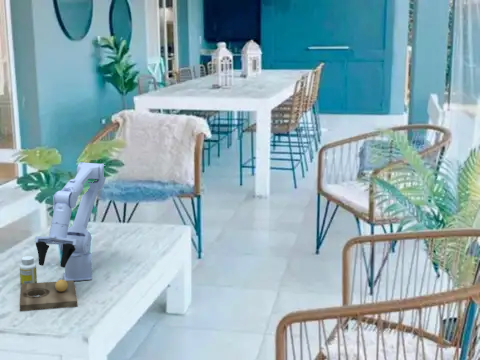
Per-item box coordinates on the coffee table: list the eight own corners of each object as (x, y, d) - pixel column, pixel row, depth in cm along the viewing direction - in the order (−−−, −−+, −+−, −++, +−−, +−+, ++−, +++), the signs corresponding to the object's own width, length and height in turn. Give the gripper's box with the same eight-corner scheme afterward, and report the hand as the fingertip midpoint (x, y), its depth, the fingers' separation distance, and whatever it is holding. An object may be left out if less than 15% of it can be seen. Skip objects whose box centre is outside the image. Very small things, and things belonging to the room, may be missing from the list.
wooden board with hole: (73, 285, 227) (73, 280, 227) (77, 306, 211) (77, 300, 210) (20, 289, 222) (20, 284, 222) (19, 311, 206) (19, 305, 205)
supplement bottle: (31, 280, 230) (30, 254, 228) (39, 284, 227) (39, 257, 225) (17, 284, 226) (16, 257, 224) (26, 288, 223) (25, 261, 221)
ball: (67, 288, 220) (67, 277, 219) (68, 293, 216) (67, 281, 215) (55, 289, 219) (54, 278, 218) (55, 294, 215) (55, 282, 214)
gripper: (34, 221, 216) (25, 261, 212) (75, 224, 213) (67, 265, 209) (43, 226, 222) (35, 265, 218) (83, 229, 219) (76, 269, 215)
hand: (51, 266), depth 214 cm, fingers open, 7 cm apart
